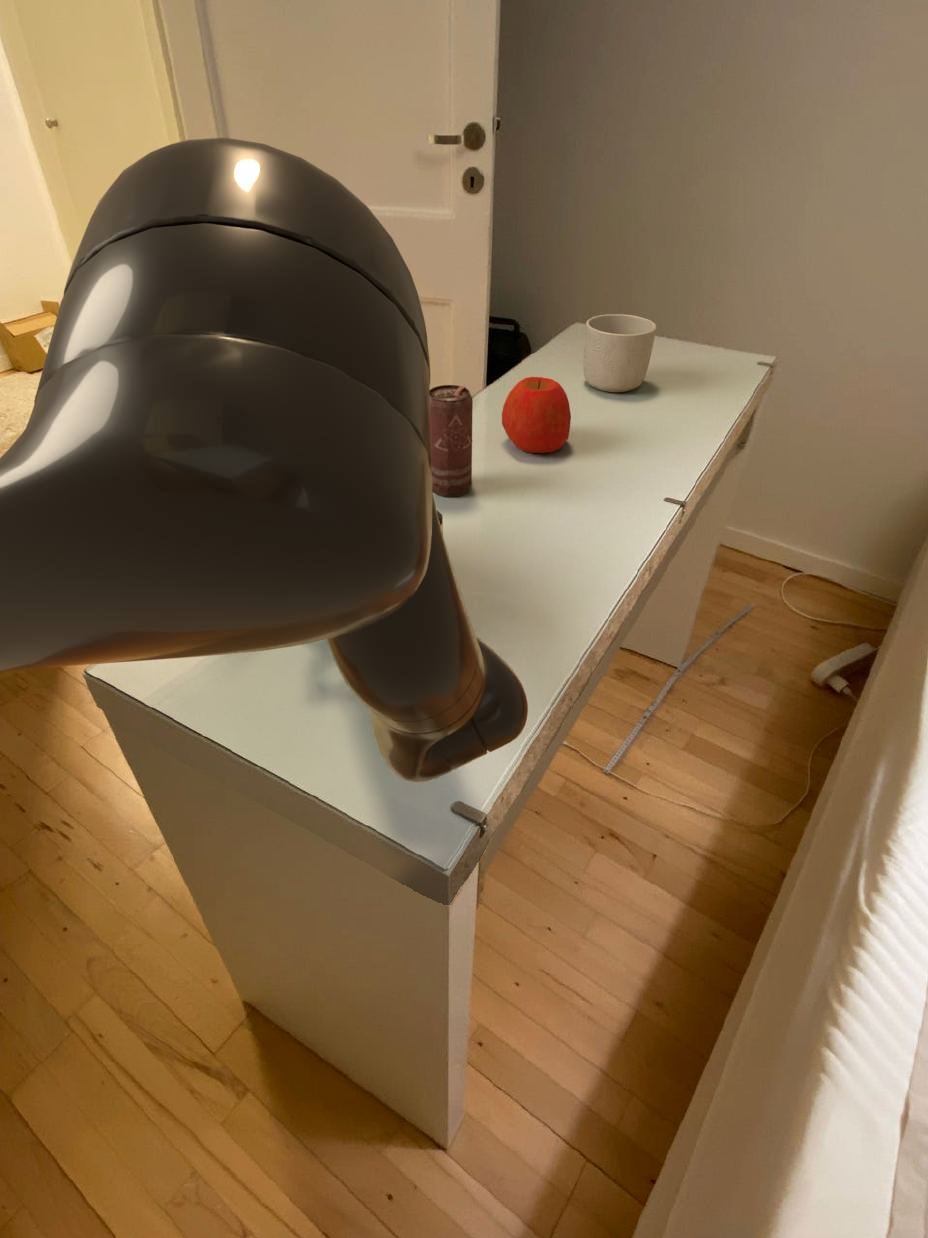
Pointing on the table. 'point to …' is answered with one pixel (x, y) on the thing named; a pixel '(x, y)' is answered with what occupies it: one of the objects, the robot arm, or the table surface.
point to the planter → (617, 351)
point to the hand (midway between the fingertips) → (353, 490)
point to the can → (451, 440)
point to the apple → (537, 415)
